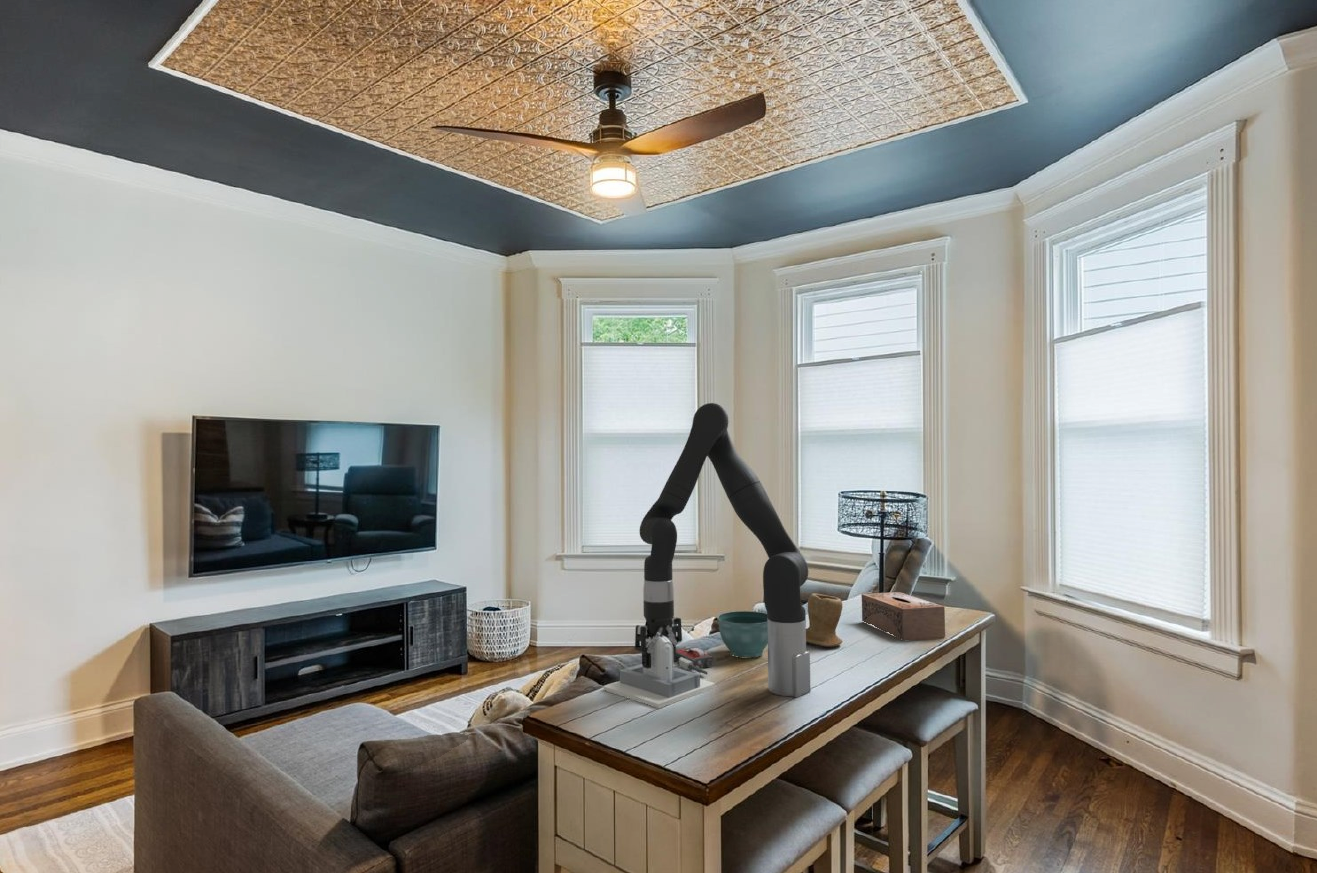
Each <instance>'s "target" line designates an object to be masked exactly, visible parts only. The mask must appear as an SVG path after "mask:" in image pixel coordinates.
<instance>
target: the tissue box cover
mask: <svg viewBox="0 0 1317 873" xmlns="http://www.w3.org/2000/svg"><path fill="white" fill-rule="evenodd" d="M945 610H946V609H945V606H944V605H941V604H937V603H935V602H932V601H929V600H925V599H922V598H920V597H916V596H912V595H910V594H907V593H904V592H900V591H895V592H893V591H892V592H875V593H861V622H862V621H864V622H866V623H868V624H872V625H874V626H875V627H877V628H879V629H881V630H883V631H885V632H889V633H890V634H893V635H894V636H896V637H898V638H900V639H899V640H901V639H902V640H901V641H903V640H909V641H921V640H922V641H923V640H933V639H932V638H937V639H941V638H940V637H943V638H942V639H945V638H946V615H945ZM883 631H882V632H883ZM885 632H884V633H885ZM894 636H893V637H894ZM896 637H895V638H896ZM944 637H945V638H944ZM898 638H897V639H898Z"/></svg>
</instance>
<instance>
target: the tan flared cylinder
mask: <svg viewBox="0 0 1317 873" xmlns="http://www.w3.org/2000/svg"><path fill="white" fill-rule="evenodd" d="M842 612H843V601H842V600H841V598H839V597H837V596H831V595H826V594H822V593H821V594H820V593H814V592H813V593H811V594H810V595H809V597H808V600H807V615H808V621H809V624H808V628H807V627H806V644H811V645H814V646H815V645H816V646H821V647H838V646H840V645H841V644H842V643H843V640H842V639H841V638H840V637H839V636H837V632H836V630H837V626H838V624H839V622H840V620H841V616H842Z"/></svg>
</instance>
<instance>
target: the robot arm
mask: <svg viewBox="0 0 1317 873" xmlns="http://www.w3.org/2000/svg"><path fill="white" fill-rule="evenodd" d="M728 428H729V416H728V412H727V411H726V409H725V408H724V407H723V406H722V405H721V404H718V403H714V402H711V403H705V404H703V405H701V406H699V407H698V409H697V410H696V412H695V413H694V415H693V418H692V425H691V429H690V432H689V435H688V438H687V439H686V443H685V445H684V447H683V449H682V452H681V453H680V456H679V457H678V460H677V461H676V463H675V465H674V467H673V469H672V471H671V473H670V475H669V476H668V478H667V479H666V483H665V484H664V486H663V488H662V491H661V492H660V495H659V496H658V498H657V500H656V501H655V502H654V503H653V505H652V506H651V507H650V508H649V510H648V511H647V513H646V514H645V515H644V517H643V518H642V519H641V520H642V521H641V522H640V526H639V538H640V539H641V540H642V541H643V542H644V543H646V544H647V545H651V550H650V555H648V556H647V557H646V558H645V559H644V562H643V563H644V564H643V577H644V578H643V579H644V580H643V590H642V591H643V592H642V593H643V617H644V619H645V624H644V625H639V624H637V625H636V626H635V631H634V632H635V636H634V637H635V638H634V650H635V651H638V652H640V653H641V664H642V666H643V667H644V668H647V669H649V668H651V653H650V652H651V649H652V647H653V646H654V645H655V644H656V642H657V640H658V638H659V636H660V637H661V636H662V635H663V636H665V637H666V638H667V639H668V640H669V641H670V642H671V643H672V645H673V662H674V661H675V657H676V649H677V647H676V646H677V645H678V643H681V642H682V641H683V632H682V631H683V630H682V619H681V617H676V616H675V609H674V608H675V600H674V599H675V597H674V596H675V594H674V592H675V591H674V589H675V588H674V581H673V560H674V557H675V553H676V547H677V543H678V542H677V541H678V531H677V527H676V525H675V523H674V522H673V520H672V519H673V518H674V517H675V516H676V515H679V514H681V513H682V512H683V511H684V510H685V509H686V506H687V505H688V502H689V500H690V498H691V496H692V494H693V493H694V492H693V491H694V489H695V487H696V485H697V482H698V479H699V478H700V474H701V472H702V469H703V466H704V463H705V462H706V460H707V457H708V459H709V461H710V462H711V464H712V466H713V468H714V470H715V472H716V475H717V477H718V479H719V482H720V484H721V486H722V488H723V490H724V492H725V494H726V497H727V499H728V500H729V502H730V504H731V507H732V508H733V511H734V512H735V513H736V515H737V517H738V518H739V519H740V520H741V521H742V523H743V524H744V525H745V526H746V527H747V529H748V530H749V531H751V532H752V534H753V535H754V536H755V537H756V538H757V539H758V541H759V542H760V544H761V545H762V547H763V549H764V551H765V553H766V556H767V557H768V559H767V560H766V561H765V564H764V566H763V571H762V588H763V604H764V608H765V611H766V613H767V624H768V644H767V675H768V678H767V679H768V680H767V681H768V682H767V683H768V691H769V692H770V693H772V694H774V695H777V696H783V697H794V698H798V697H801V696H803V695H805V694H807V693H810V692H811V654H810V651H809V650H807V642H806V629H807V624H806V622H807V620H806V618H807V617H806V608H805V607H804V606H803V605H802V601H801V599H802V598H801V587H802V586H803V585H804V584H805V583H806V582H807V580H808V577H809V565H808V563H807V561H806V559H805V558H804V556H803V554H802V553H801V552H800V550H799V549H798V547H797V546H796V544H795V543H794V541H793V539H792V538H791V537H790V536H789V534H788V532H787V531H786V529H785V527H784V525H783V523H782V521H781V518H780V517H779V514H778V513H777V511H776V509H775V507H774V505H773V503H772V501H771V499H770V497H769V496H768V494H767V491H766V490H765V487H764V486H763V484H762V482H761V480H760V479H759V478H758V476H757V474H756V473H755V472H754V471H753V469H752V468H751V467H750V466H749V464H748V463H747V462H746V461H745V460H744V459H743V458H742V457H741V456H740V455H739V453H738V451H737V449H736V448H735V446H734V443H733V441H732V439H731V436H730V434H729V432H728ZM649 637H650V638H651V639H652V640H650V639H649ZM647 644H648V647H647ZM675 662H676V661H675Z"/></svg>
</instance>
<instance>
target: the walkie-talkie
mask: <svg viewBox="0 0 1317 873" xmlns="http://www.w3.org/2000/svg"><path fill="white" fill-rule="evenodd" d="M675 662H677V663H678V664H679V667H680V668H681V669H683V670H686V671H691V670H692V671H695V672H696V673H698V674H704V675H708V671H706V670H704V669H705V668H710V667H714V657H713V656H711V655H709V654H707V653H706V652H705V650H703V649H701V648H698V647H693V648H692V646H688V647H683V648H682V647H681V648H676V657H675Z"/></svg>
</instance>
